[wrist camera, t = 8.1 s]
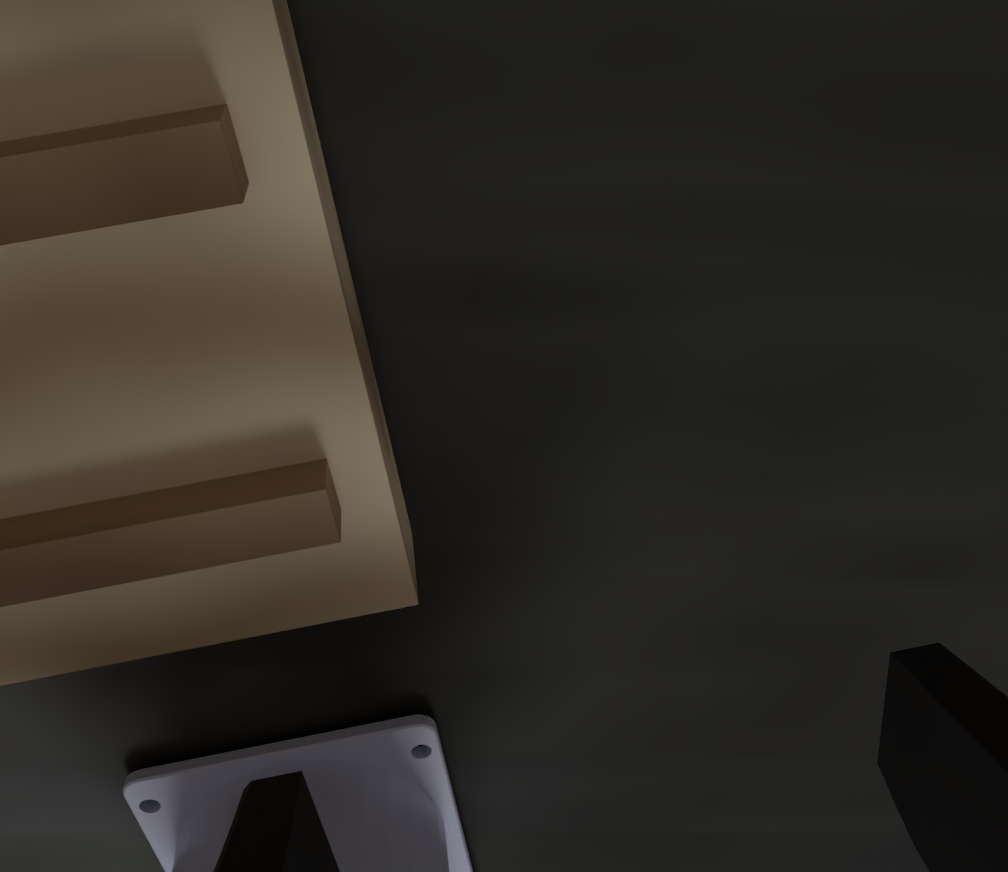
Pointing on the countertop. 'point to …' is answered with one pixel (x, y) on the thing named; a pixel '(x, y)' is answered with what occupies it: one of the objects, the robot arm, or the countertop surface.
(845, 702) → the countertop surface
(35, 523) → the board
